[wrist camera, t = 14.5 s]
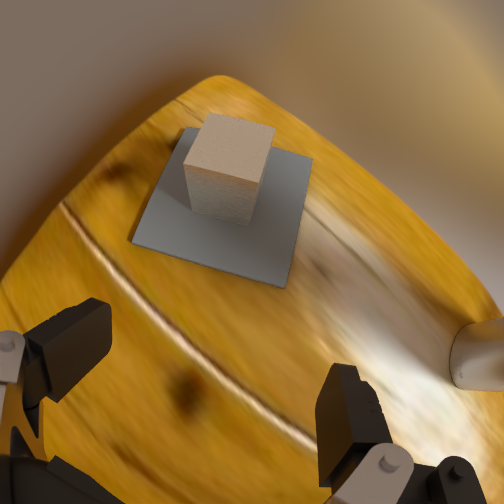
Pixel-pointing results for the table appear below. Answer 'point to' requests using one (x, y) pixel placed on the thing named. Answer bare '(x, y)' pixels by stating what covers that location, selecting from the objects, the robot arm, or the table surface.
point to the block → (227, 167)
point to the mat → (227, 233)
